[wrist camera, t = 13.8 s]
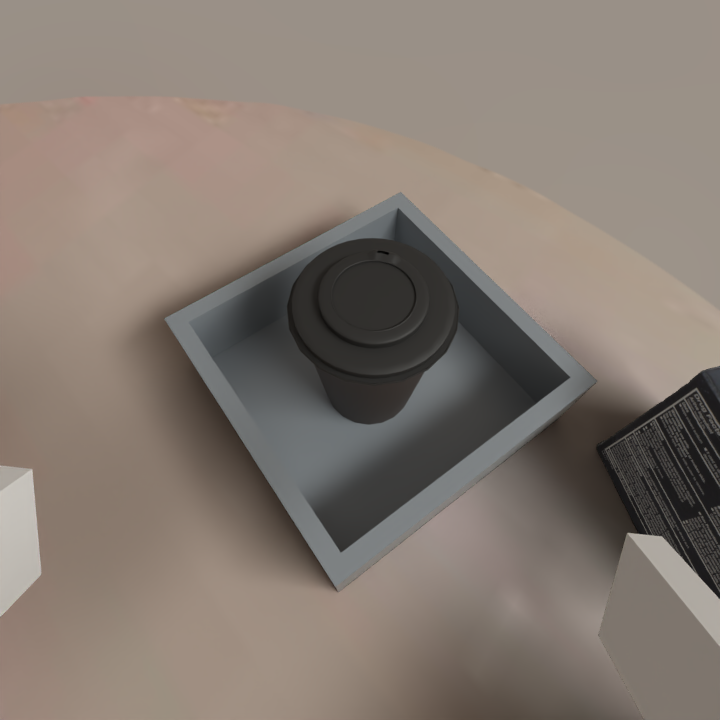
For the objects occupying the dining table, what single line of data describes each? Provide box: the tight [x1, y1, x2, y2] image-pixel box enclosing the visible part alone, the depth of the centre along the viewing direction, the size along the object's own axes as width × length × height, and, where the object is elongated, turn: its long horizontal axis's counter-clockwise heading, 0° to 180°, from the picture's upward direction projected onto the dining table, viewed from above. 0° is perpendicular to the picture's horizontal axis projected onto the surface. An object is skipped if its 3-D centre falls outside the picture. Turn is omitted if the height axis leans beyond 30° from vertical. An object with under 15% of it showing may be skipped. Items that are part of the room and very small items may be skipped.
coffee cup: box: [287, 238, 459, 425], centre depth 26 cm, size 8×8×10 cm
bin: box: [164, 192, 597, 592], centre depth 29 cm, size 17×17×6 cm
